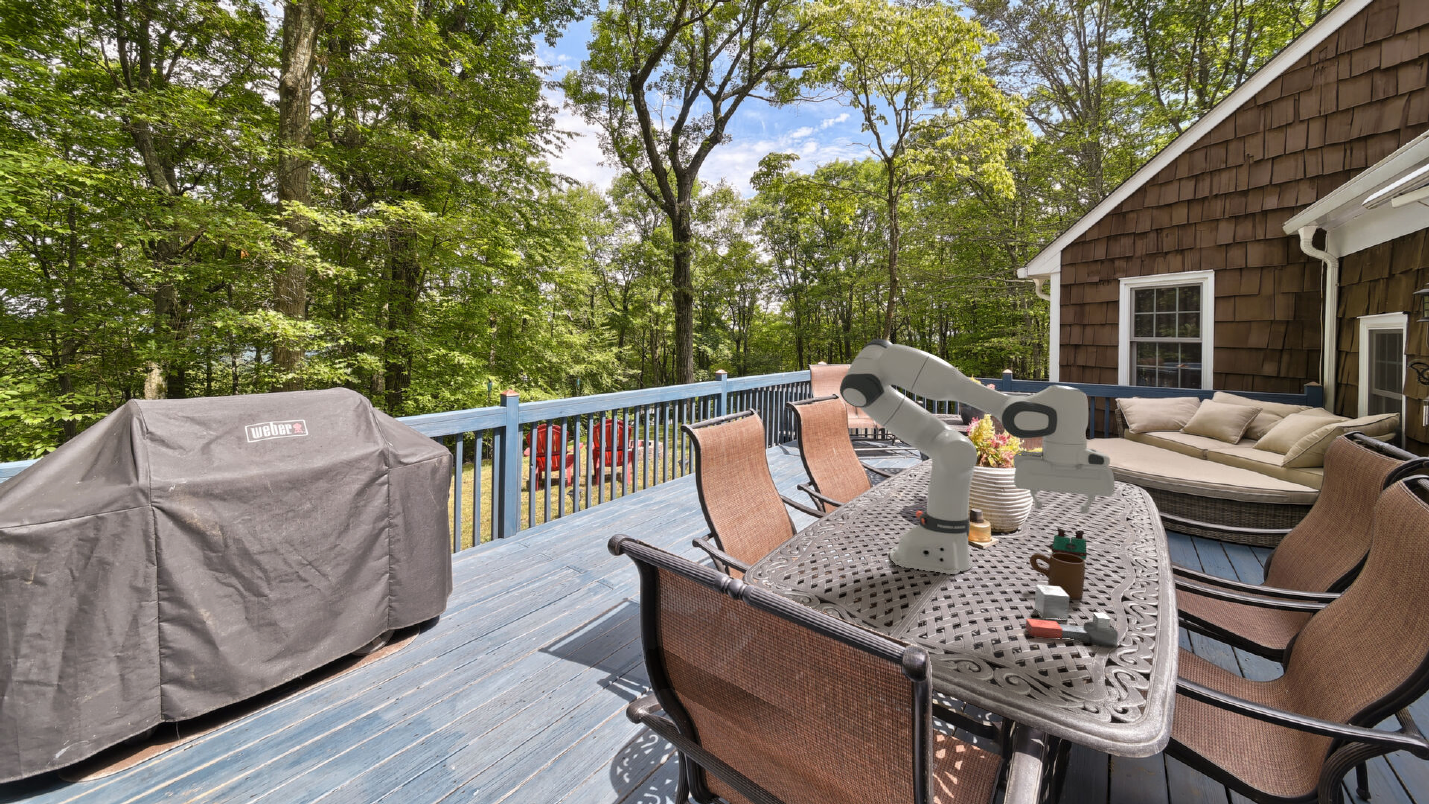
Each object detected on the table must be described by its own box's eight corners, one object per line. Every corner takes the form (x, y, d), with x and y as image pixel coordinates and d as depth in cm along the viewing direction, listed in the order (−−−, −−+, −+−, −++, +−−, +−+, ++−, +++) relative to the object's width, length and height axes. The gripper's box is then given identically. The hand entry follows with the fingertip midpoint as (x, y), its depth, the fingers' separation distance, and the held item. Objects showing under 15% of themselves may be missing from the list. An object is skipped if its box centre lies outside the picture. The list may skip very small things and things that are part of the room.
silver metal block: (1042, 618, 126) (1044, 594, 125) (1034, 608, 131) (1036, 584, 130) (1067, 621, 125) (1069, 596, 124) (1058, 610, 130) (1060, 586, 129)
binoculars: (1081, 525, 162) (1090, 533, 152) (1080, 561, 162) (1089, 570, 152) (1047, 522, 165) (1054, 529, 156) (1045, 556, 165) (1052, 565, 156)
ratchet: (1033, 639, 117) (1034, 615, 116) (1023, 625, 122) (1025, 602, 122) (1122, 649, 113) (1124, 624, 113) (1108, 634, 119) (1110, 610, 118)
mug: (1026, 590, 140) (1029, 555, 139) (1029, 580, 147) (1031, 546, 146) (1082, 603, 133) (1085, 566, 133) (1083, 591, 140) (1085, 556, 139)
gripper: (1014, 452, 131) (1012, 508, 132) (1118, 459, 122) (1114, 519, 123) (1013, 448, 136) (1010, 501, 137) (1112, 454, 127) (1108, 511, 129)
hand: (1060, 510), depth 130 cm, fingers open, 8 cm apart
